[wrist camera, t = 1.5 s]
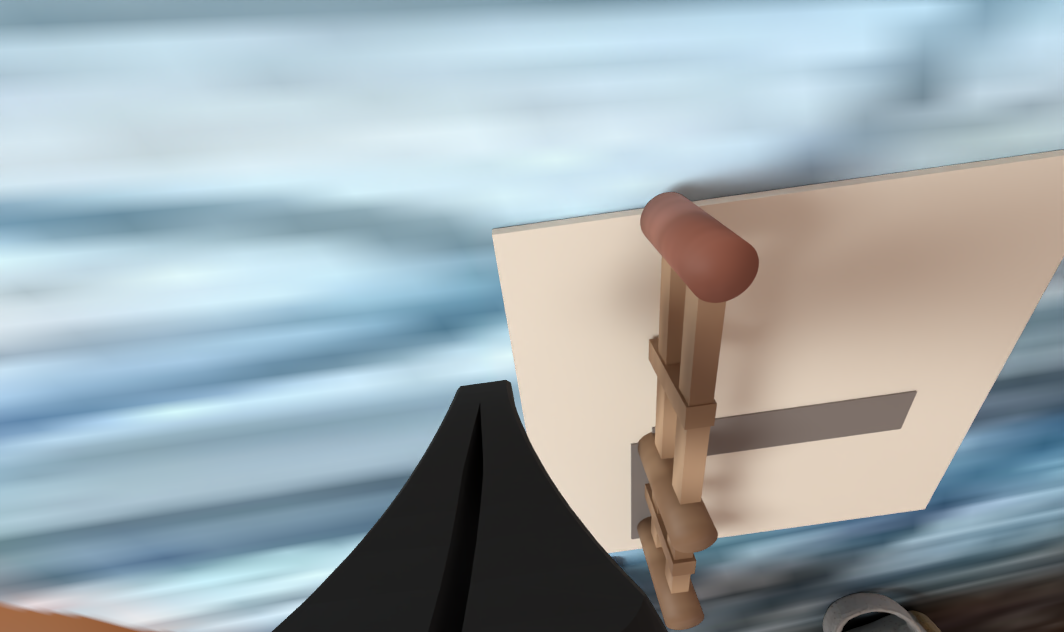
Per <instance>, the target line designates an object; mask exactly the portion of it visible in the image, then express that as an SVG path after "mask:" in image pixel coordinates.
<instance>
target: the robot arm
mask: <svg viewBox="0 0 1064 632" xmlns="http://www.w3.org/2000/svg"><path fill="white" fill-rule="evenodd" d="M272 632H668V631H667V629H666V627H665V626H664V624H663V622H662V620H661V619H660V617H659V615H658V614H657V612H656V610H655V609H654V607H653V605H652V604H651V602H650V600H649V598H648V597H647V595H646V594H645V593H644V591H643V590H642V589H641V588H640V587H639V586H638V585H637V584H636V583H635V582H634V581H633V580H632V579H631V578H630V577H629V576H628V575H627V574H626V573H625V572H624V571H623V570H622V568H621V567H620V566H619V565H618V564H617V563H616V562H615V561H614V560H613V559H612V557H611V556H610V555H609V554H608V553H607V552H606V551H605V549H604V548H603V547H602V546H601V545H600V544H599V543H598V541H597V540H596V539H595V538H594V536H593V535H592V534H591V533H590V531H589V530H588V529H587V528H586V526H585V525H584V524H583V523H582V521H581V520H580V519H579V517H578V516H577V515H576V514H575V512H574V511H573V510H572V508H571V507H570V506H569V504H568V503H567V501H566V500H565V499H564V497H563V496H562V494H561V493H560V491H559V490H558V488H557V487H556V485H555V484H554V482H553V481H552V479H551V478H550V476H549V474H548V473H547V471H546V469H545V468H544V466H543V464H542V463H541V461H540V459H539V457H538V455H537V454H536V452H535V450H534V448H533V446H532V444H531V442H530V440H529V438H528V436H527V434H526V432H525V429H524V427H523V425H522V423H521V420H520V418H519V415H518V413H517V410H516V407H515V402H514V397H513V391H512V386H511V383H510V382H509V381H507V380H502V381H495V382H488V383H481V384H473V385H466V386H460V388H459V389H458V390H457V392H456V394H455V397H454V399H453V401H452V403H451V405H450V407H449V410H448V412H447V414H446V416H445V418H444V420H443V421H442V423H441V425H440V427H439V429H438V431H437V433H436V434H435V436H434V438H433V440H432V442H431V443H430V445H429V447H428V449H427V450H426V452H425V454H424V455H423V457H422V459H421V460H420V462H419V463H418V465H417V467H416V468H415V470H414V471H413V473H412V474H411V476H410V478H409V479H408V481H407V482H406V484H405V485H404V486H403V488H402V489H401V491H400V492H399V494H398V495H397V496H396V498H395V499H394V501H393V502H392V503H391V505H390V506H389V507H388V509H387V510H386V511H385V513H384V514H383V515H382V516H381V518H380V519H379V520H378V521H377V523H376V524H375V525H374V526H373V527H372V529H371V530H370V531H369V532H368V534H367V535H366V536H365V537H364V538H363V540H362V541H361V542H360V543H359V544H358V545H357V547H356V548H355V549H354V550H353V551H352V552H351V553H350V555H349V556H348V557H347V558H346V559H345V560H344V561H343V562H342V563H341V564H340V565H339V566H338V567H337V568H336V569H335V570H334V572H333V573H332V574H331V575H330V576H329V577H328V578H327V579H326V580H325V581H324V582H323V583H322V584H321V585H320V586H319V587H318V588H317V589H316V591H315V592H314V593H313V594H312V595H311V596H310V597H309V598H308V599H307V600H306V601H305V602H303V603H302V604H301V605H300V606H299V607H298V608H297V609H296V610H295V611H294V612H293V613H292V614H291V615H289V616H288V617H287V618H286V619H285V620H284V621H283V622H282V623H281V624H280V625H279V626H278V627H276V628H275V629H274V630H273V631H272Z"/></svg>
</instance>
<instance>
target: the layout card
mask: <svg viewBox="0 0 1064 632" xmlns="http://www.w3.org/2000/svg"><path fill="white" fill-rule="evenodd" d="M691 202H693V203H694V204H695V205H697V206H698V207H700V208H701V209H702V210H704V211H705V212H707V213H708V214H709V215H711V216H712V217H713V218H715V219H716V220H718V221H719V222H720V223H722V224H723V225H724V226H726V227H727V228H729V229H730V230H731V231H733V232H734V233H736V234H737V235H738V236H740V237H741V238H742V239H744V240H745V241H747V242H748V243H749V244H751V245H752V246H753V247H754V248H755V250H756V252H757V254H758V258H759V268H758V272H757V275H756V277H755V279H754V281H753V282H752V284H751V285H750V286H749V287H748V288H747V289H746V290H745V291H744V292H743V293H742V294H740V295H739V296H737V297H735V298H733V299H731V300H729V301H726V307H725V315H724V323H723V331H722V339H721V347H720V355H719V363H718V370H717V378H716V386H715V394H714V399H715V401H716V403H717V408H716V416H715V423H714V426H710V434H709V442H708V449H707V457H706V465H705V473H704V481H703V489H702V497H701V498H702V500H703V502H704V504H705V506H706V509H707V511H708V513H709V515H710V517H711V519H712V521H713V523H714V526H715V528H716V530H717V532H718V537H717V538H720V537H728V536H735V535H742V534H749V533H756V532H763V531H771V530H778V529H785V528H792V527H799V526H807V525H814V524H821V523H828V522H835V521H842V520H850V519H857V518H864V517H871V516H878V515H886V514H893V513H900V512H907V511H914V510H922V509H925V508H926V506H927V504H928V502H929V500H930V499H931V497H932V495H933V493H934V491H935V489H936V488H937V486H938V484H939V482H940V480H941V479H942V477H943V475H944V473H945V471H946V469H947V468H948V466H949V464H950V462H951V460H952V459H953V457H954V455H955V453H956V451H957V449H958V448H959V446H960V444H961V442H962V440H963V439H964V437H965V435H966V433H967V431H968V429H969V428H970V426H971V424H972V422H973V420H974V419H975V417H976V415H977V413H978V411H979V409H980V408H981V406H982V404H983V402H984V400H985V399H986V397H987V395H988V393H989V391H990V389H991V388H992V386H993V384H994V382H995V380H996V379H997V377H998V375H999V373H1000V371H1001V369H1002V368H1003V366H1004V364H1005V362H1006V360H1007V359H1008V357H1009V355H1010V353H1011V351H1012V350H1013V348H1014V346H1015V344H1016V342H1017V340H1018V339H1019V337H1020V335H1021V333H1022V331H1023V330H1024V328H1025V326H1026V324H1027V322H1028V320H1029V319H1030V317H1031V315H1032V313H1033V311H1034V310H1035V308H1036V306H1037V304H1038V302H1039V300H1040V299H1041V297H1042V295H1043V293H1044V291H1045V290H1046V288H1047V286H1048V284H1049V282H1050V280H1051V279H1052V277H1053V275H1054V273H1055V271H1056V270H1057V268H1058V266H1059V264H1060V262H1061V260H1062V259H1063V257H1064V150H1057V151H1050V152H1043V153H1036V154H1029V155H1021V156H1014V157H1007V158H1000V159H993V160H986V161H978V162H971V163H964V164H957V165H950V166H942V167H935V168H928V169H921V170H914V171H907V172H899V173H892V174H885V175H878V176H871V177H863V178H856V179H849V180H842V181H835V182H828V183H820V184H813V185H806V186H799V187H792V188H785V189H777V190H770V191H763V192H756V193H749V194H741V195H734V196H727V197H720V198H713V199H706V200H698V201H691ZM643 209H644V208H641V209H634V210H627V211H619V212H612V213H605V214H598V215H591V216H583V217H576V218H569V219H562V220H555V221H548V222H540V223H533V224H526V225H519V226H512V227H504V228H497V229H492V237H493V243H494V249H495V254H496V260H497V266H498V272H499V277H500V283H501V289H502V294H503V300H504V306H505V312H506V317H507V323H508V329H509V335H510V340H511V346H512V352H513V357H514V363H515V369H516V375H517V380H518V386H519V392H520V397H521V403H522V409H523V415H524V420H525V426H526V432H527V436H528V438H529V440H530V442H531V444H532V446H533V448H534V450H535V452H536V454H537V455H538V457H539V459H540V461H541V463H542V464H543V466H544V468H545V469H546V471H547V473H548V474H549V476H550V478H551V479H552V481H553V482H554V484H555V485H556V487H557V488H558V490H559V491H560V493H561V494H562V496H563V497H564V499H565V500H566V501H567V503H568V504H569V506H570V507H571V508H572V510H573V511H574V512H575V514H576V515H577V516H578V517H579V519H580V520H581V521H582V523H583V524H584V525H585V526H586V528H587V529H588V530H589V531H590V533H591V534H592V535H593V536H594V538H595V539H596V540H597V541H598V543H599V544H600V545H601V546H602V547H603V548H604V549H605V551H606V552H607V553H613V552H620V551H627V550H634V549H641V548H642V544H641V541H640V538H639V534H638V531H637V525H638V524H639V522H640V521H641V520H643V519H645V518H647V517H650V516H651V513H650V510H649V507H648V504H647V502H646V499H645V484H647V483H649V481H648V478H647V475H646V472H645V470H644V467H643V464H642V461H641V459H640V456H639V453H638V442H639V440H640V439H641V438H642V437H643V436H644V435H646V434H648V433H650V432H652V434H653V433H655V424H656V397H657V375H656V373H655V371H654V369H653V367H652V365H651V363H650V361H649V339H654V338H659V316H660V288H661V261H662V256H661V254H660V253H659V252H658V251H657V250H656V248H655V247H654V246H653V245H652V244H651V243H650V241H649V240H648V239H647V238H646V237H645V235H644V234H643V232H642V230H641V226H640V218H641V214H642V211H643Z"/></svg>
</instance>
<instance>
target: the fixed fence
mask: <svg viewBox="0 0 1064 632" xmlns="http://www.w3.org/2000/svg"><path fill="white" fill-rule="evenodd" d="M638 453H639V456H640V459H641V461H642V464H643V467H644V470H645V472H646V475H647V478H648V481H649V483H647V484H645V499H646V502H647V504H648V507H649V510H650V513H651V516H650V517H647V518H645V519H643V520H641V521H640V522H639V524H638V525H637V531H638V534H639V538H640V541H641V544H642V548H643V551H644V554H645V558H646V561H647V564H648V568H649V571H650V574H651V578H652V581H653V584H654V588H655V591H656V594H657V598H658V601H659V604H660V608H661V611H662V614H663V618H664V621H665V624H666V626H667V627H668V628H670V629H674V630H683V629H688V628H692V627H694V626H696V625H698V624H699V623H701V622H702V621H703V619H704V614H703V611H702V608H701V606H700V603H699V600H698V598H697V595H696V592H695V590H694V587H693V584H692V582H691V579H690V575H691V574H695V567H696V559H695V556H694V554H693V553H694V552H698V551H702V550H704V549H706V548H708V547H710V546H711V545H712V544H713V543H714V542H715V541H716V540H717V537H718V532H717V530H716V528H715V526H714V523H713V521H712V519H711V517H710V515H709V513H708V511H707V509H706V506H705V504H704V502H703V500H702V498H701V502H695V503H688V504H681V505H680V503H679V501H678V498H677V496H676V493H675V491H674V488H673V486H672V478H673V464H674V458H667V459H661V457H660V455H659V452H658V450H657V447H656V445H655V433H653V434H652V432H650V433H648V434H646V435H644V436H643V437H642V438H641V439H640V440H639V442H638Z"/></svg>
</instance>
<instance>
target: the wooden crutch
mask: <svg viewBox="0 0 1064 632" xmlns="http://www.w3.org/2000/svg"><path fill="white" fill-rule="evenodd" d="M640 226H641V230H642V232H643V234H644V235H645V237H646V238H647V239H648V240H649V241H650V243H651V244H652V245H653V246H654V247H655V248H656V250H657V251H658V252H659V253H660V254H661V256H662V261H661V288H660V316H659V338H654V339H649V361H650V363H651V365H652V367H653V369H654V371H655V373H656V375H657V397H656V424H655V445H656V447H657V450H658V452H659V455H660V457H661V459H667V458H674V464H673V478H672V486H673V488H674V491H675V493H676V496H677V498H678V501H679V503H680V505H681V504H688V503H695V502H701V497H702V489H703V481H704V473H705V465H706V457H707V449H708V442H709V434H710V426H714V423H715V416H716V408H717V403H716V401H715V399H714V394H715V386H716V378H717V370H718V363H719V355H720V347H721V339H722V331H723V323H724V315H725V307H726V301H729V300H731V299H733V298H735V297H737V296H739V295H740V294H742V293H743V292H744V291H745V290H746V289H747V288H748V287H749V286H750V285H751V284H752V282H753V281H754V279H755V277H756V275H757V272H758V268H759V258H758V254H757V252H756V250H755V248H754V247H753V246H752V245H751V244H749V243H748V242H747V241H745V240H744V239H742V238H741V237H740V236H738V235H737V234H736V233H734V232H733V231H731V230H730V229H729V228H727V227H726V226H724V225H723V224H722V223H720V222H719V221H718V220H716V219H715V218H713V217H712V216H711V215H709V214H708V213H707V212H705V211H704V210H702V209H701V208H700V207H698V206H697V205H695V204H694V203H693V202H691V201H690V200H689V199H687V198H686V197H684V196H683V195H681V194H679V193H675V192H666V193H662V194H660V195H657V196H656V197H654V198H653V199H651V200H650V201H649V202H648V203H647V205H646V206H645V208H644V209H643V211H642V214H641V218H640Z"/></svg>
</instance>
